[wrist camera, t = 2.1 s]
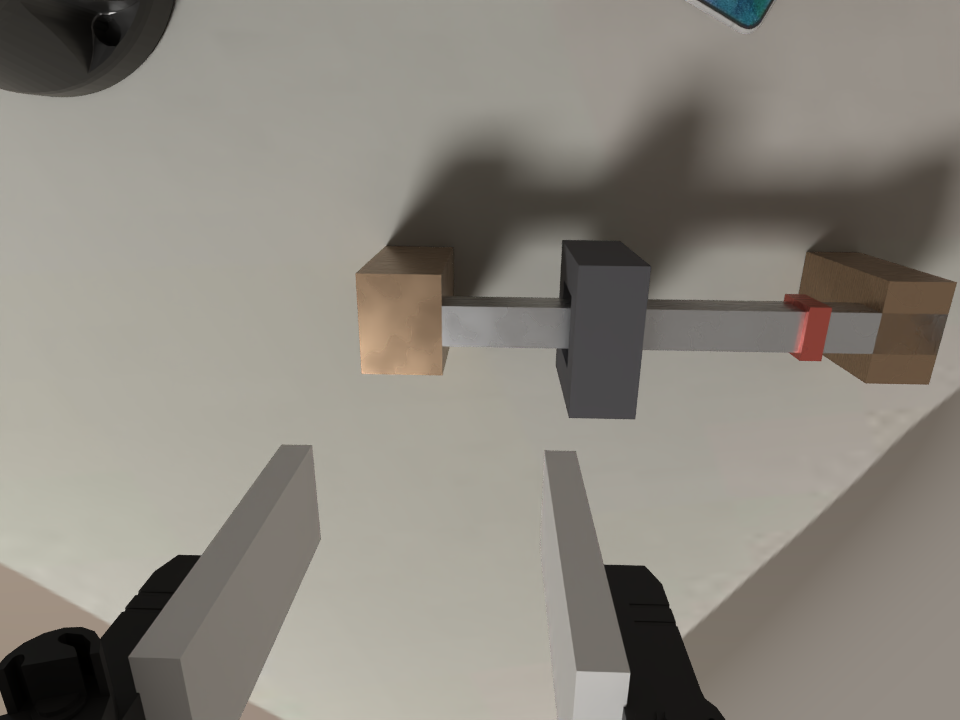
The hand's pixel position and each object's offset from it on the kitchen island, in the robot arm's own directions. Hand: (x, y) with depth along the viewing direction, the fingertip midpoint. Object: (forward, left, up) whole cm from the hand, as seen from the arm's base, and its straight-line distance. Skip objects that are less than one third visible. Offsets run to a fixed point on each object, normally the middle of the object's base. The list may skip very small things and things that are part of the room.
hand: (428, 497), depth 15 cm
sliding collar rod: (0, +9, -23) cm, 25 cm away
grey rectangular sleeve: (0, +6, -19) cm, 20 cm away
